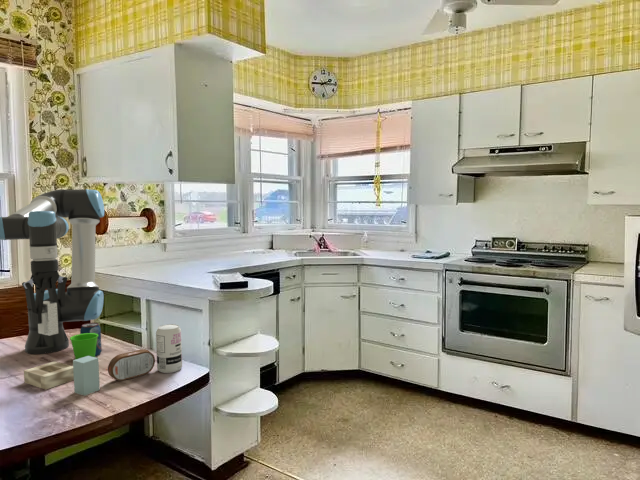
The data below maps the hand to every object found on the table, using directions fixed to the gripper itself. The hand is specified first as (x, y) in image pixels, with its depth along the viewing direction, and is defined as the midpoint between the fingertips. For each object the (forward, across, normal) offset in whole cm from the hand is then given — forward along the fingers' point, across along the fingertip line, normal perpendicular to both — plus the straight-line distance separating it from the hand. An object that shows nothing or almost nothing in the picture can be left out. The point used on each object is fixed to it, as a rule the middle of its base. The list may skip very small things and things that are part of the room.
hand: (48, 331), depth 149 cm
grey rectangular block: (+1, 0, 0) cm, 1 cm away
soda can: (+17, +22, +12) cm, 30 cm away
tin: (+17, +15, -21) cm, 31 cm away
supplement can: (+17, +26, -26) cm, 40 cm away
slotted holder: (+16, 0, 0) cm, 16 cm away
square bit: (+16, 0, -18) cm, 25 cm away
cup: (+17, +13, +2) cm, 21 cm away
